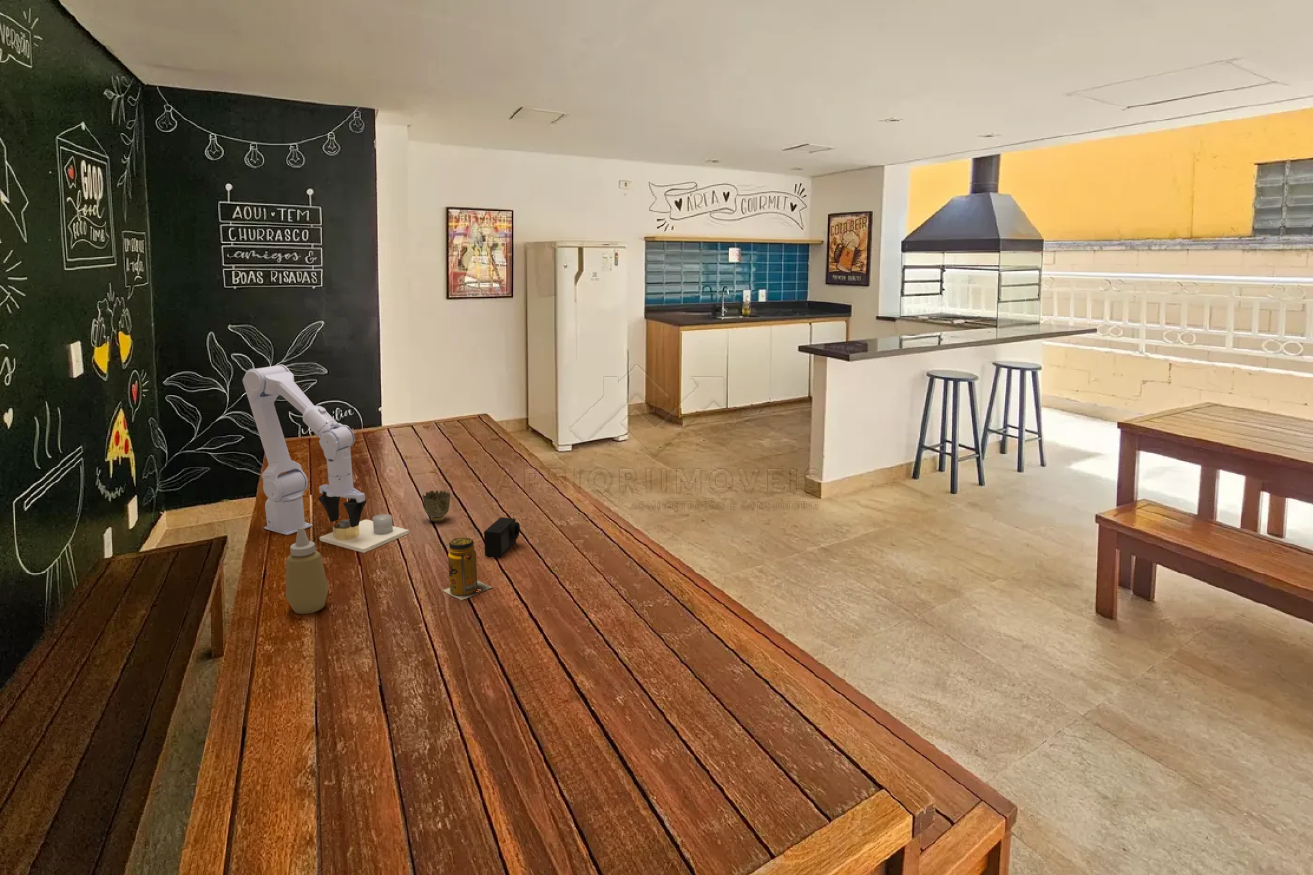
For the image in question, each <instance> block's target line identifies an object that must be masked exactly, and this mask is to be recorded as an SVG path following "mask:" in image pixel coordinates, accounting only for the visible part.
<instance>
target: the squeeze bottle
mask: <svg viewBox="0 0 1313 875" xmlns="http://www.w3.org/2000/svg"><path fill="white" fill-rule="evenodd" d="M289 546H290V547H289V551H290V554H289V555H288V556H287V557H286V562H285V563H286V564H285V565H286V566H285V567H286V568H285V569H286V572H285V578H286V579H285V598H286V600H287V601H288V604H289V605H290V606H291V608H292V610H293V612H294V613H296V614H299V615H305V614H306V615H307V614H312V613H316V612H318V611H320V610H322V609H323V608H324V607H325V603H326V601H327V600H326V599H327V596H328V592H329V584H328V581H327V580H328V579H327V576H326V572H325V567H324V562H323V558H322V553H320V552H319V551H317V550H316V549H317V548H316V543H315V542H314V541H311V540H309V538H308V536H307V532H306V530H305V529H304V528H303V527H300V528H298V530H297V532H296V538H295V543H292V544H291V545H289Z"/></svg>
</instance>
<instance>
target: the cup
mask: <svg viewBox="0 0 1313 875" xmlns="http://www.w3.org/2000/svg"><path fill="white" fill-rule="evenodd" d="M422 500H423V505H424V509H425V510H424V511H425V512H426V514H427V515H428V516H429V517H430V520H431V522H434V523H441V522H443V521H445V516H446V515H447V514H448V512H449V510H450V503H451V502H450V501H451V492H449V491H446V490H443V489H441V490H440V491H439V490H436V491H434V490H430V491H426V492H425V495H424V494H422Z"/></svg>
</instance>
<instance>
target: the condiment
mask: <svg viewBox="0 0 1313 875" xmlns="http://www.w3.org/2000/svg"><path fill="white" fill-rule="evenodd" d="M474 543H475V542H474V540H473V538H470V537H467V536H463V537H455V538H453V539H451V540H450V541H449V544H448V546H449V552H448V554H447V561H448V564H447V565H448V579H449V580H448V582H449V587H447V588H445V589H442V592H445V593H446V594H448V595H450V596H452V597H454V598H456V599H458V600H460V601H464V600H466V599H469V598H471V597H474V596H476V595H479V593H483V592H485V591H487V590H489V589H492V588H493V586H491V585H489V584H486V583H484V582H482V581H480V580H478V568H477V552H476V550H475V545H474ZM477 580H478V581H477ZM477 589H481V591H479V592H476V591H478V590H477Z"/></svg>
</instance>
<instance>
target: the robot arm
mask: <svg viewBox="0 0 1313 875" xmlns="http://www.w3.org/2000/svg"><path fill="white" fill-rule="evenodd" d="M294 375H295V374H294V373H292V372H291V371H290V369H289V368H288V367H287V366H286V365H284V364H282V363H281V364H276V365H272V366H271V365H270V366H266V367H258V368H250V369H248V370H246V372H245V374H244V376H243V378H242V384H243V386H244V390H245V394H246V395H247V396H246V397H247V399H248V402H249V406H250V409H251V413H252V415H253V419H254V421H255V424H256V428H257V431H258V436H259V439H260V440H261V444H262V448H263V451H264V454H265V458H266V460H267V464H268V465H267V467H266V468H265V470H264V471H263V472H262V474H261V478H262V483H263V484H262V489H263V493H264V494H265V496H266V497H267V500H265V504H264V510H265V516H266V517H265V518H266V519H265V520H266V526H264V529H265V530H266V531H271V532H274V533H279V534H281V535H282V534H283V535H286V536H289V535H292V534H294V533H297V530H298V528H300V527H303V528H304V529H308V528H310V527H313V524H312V523H310V522H306V519H305V511H304V501H303V499H304V498H303V496H304V495H305V490H307V489H308V485H309V482H308V481H309V480H308V477H307V475H306V473H305V472H304V470H303V468H302V465H301V464H300V463H298V462H297V461H294V460H293V459H291V456H290V453H289V449H288V446H287V442H286V439H285V436H284V433H283V429H282V426H281V423H280V419H279V416H278V414H277V411H276V410H277V409H276V406H275V402H276V401H277V400H276V399H277V398H278V396H281V397H283V398H284V399H285V400H286V401H287V402H288V403H290V405H292V406H293V407H294V408H295V409H296V410H298V412H299V413H300V414H302V421H303V423H304V424H305V425H306V426H308V428H309V429H310V430H311V431H312V432H313V433H314V434H315V435H316V436H317V437H318V438H319V440H318V443H319V445H320V447H321V450H322V451H323V456H324V457H325V459H326V468H327V479H328V484H327V483H325V484H322V485H319V486H318V488H319V490H318V491H319V494H322V495H320V496H318V501H319V502H320V503H321V505H322V506H323V508H324V509H325V512H326V515H327V517H328V519H329V521H330V523H334V522H336V521H338V520H339V517H340V514H339V513H340V499H341V498H344V499H347V500H349V501H345V502H343V507H344V508H345V509H346V512H347V515H348V520H349V522H350V526H351V527H355V526H358V525H359V522H360V521H361V516H362V513H363V509H364V507H365V506H366V503H367V501H368V500H367V498H366V494H365V493H364V492H362V491H359V490H358V489H356V488H355V487H354V478H353V467H352V466H353V465H352V464H353V463H352V452H351V447H352V446H353V445H354V443H355V440H356V438H355V433H354V431H353V430H352V428H350V426H348V425H347V424H342V423H341V422H338V421H337V420H335V419H334V417H333V416H332V415H331V414H329V412H327V410H326V408H325V407H323V406H321V405H314V403H313V402H312V401H311V400H310V399H309V397H308V396H307V395H306V394H305V393H304V391H303V390H302V389H301V388H300V387H299V385H298V384H297V383H296V382H295V377H294Z"/></svg>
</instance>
